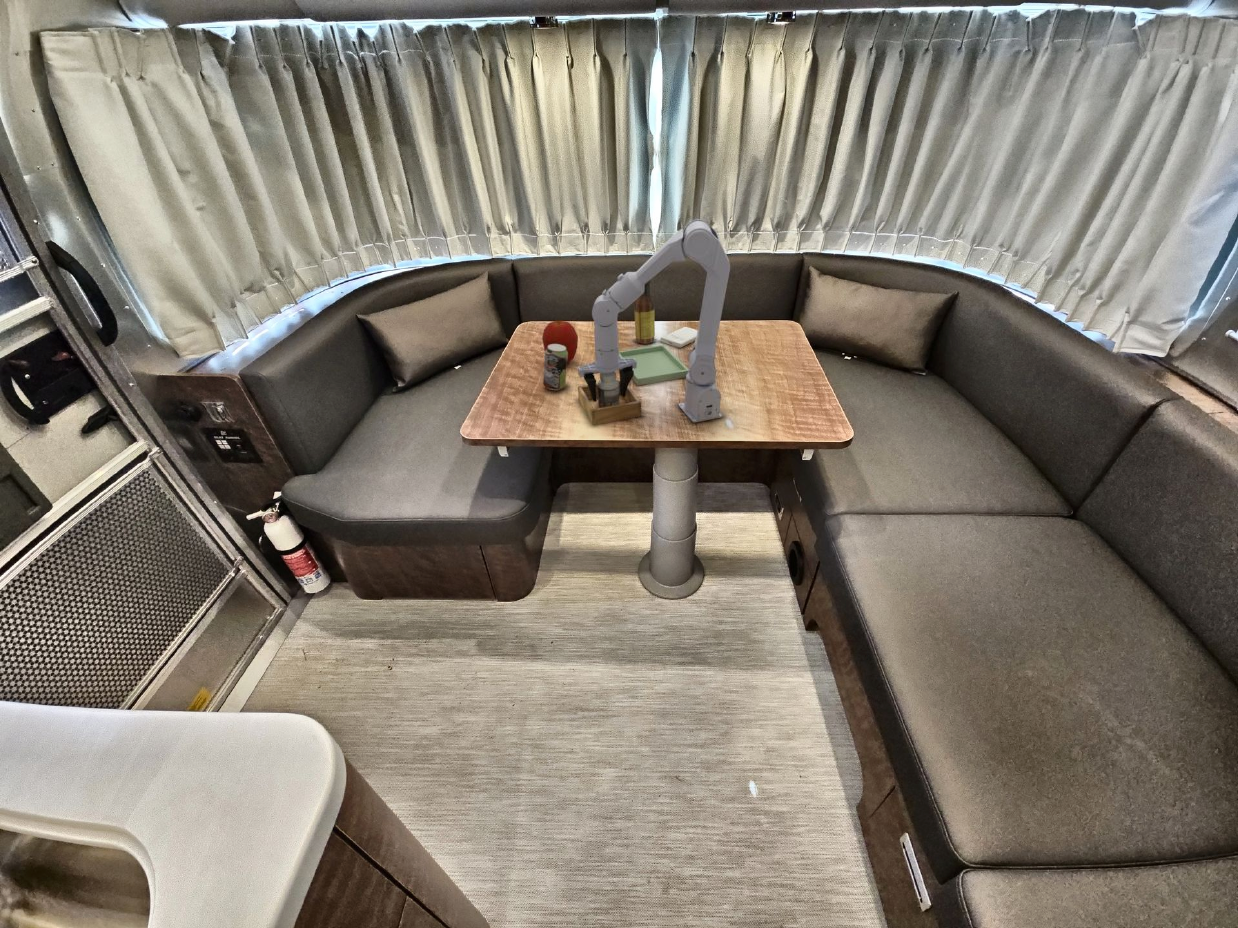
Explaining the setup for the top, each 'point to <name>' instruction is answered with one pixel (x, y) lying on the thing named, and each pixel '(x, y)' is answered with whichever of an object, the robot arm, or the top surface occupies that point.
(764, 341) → the top surface
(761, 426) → the top surface
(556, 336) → the apple
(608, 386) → the pill bottle
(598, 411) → the open wooden box
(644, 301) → the sauce bottle
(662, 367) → the tray
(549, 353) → the beverage can
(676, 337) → the hard drive
